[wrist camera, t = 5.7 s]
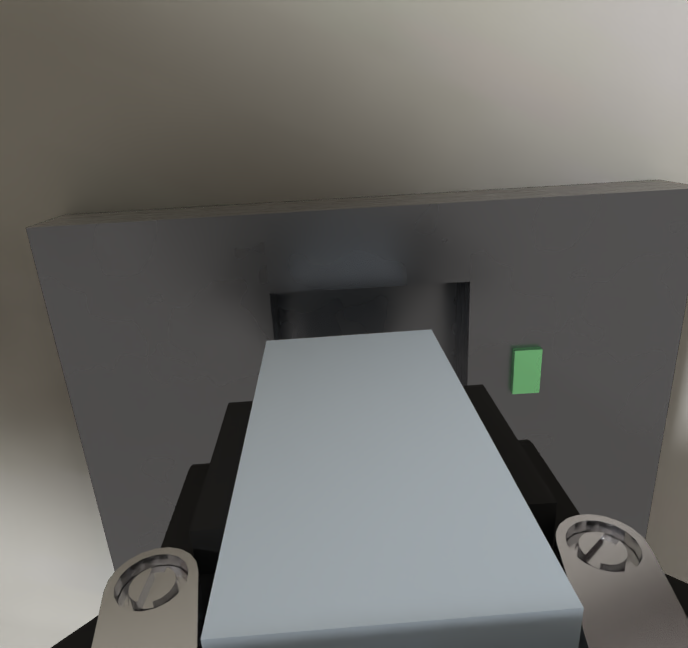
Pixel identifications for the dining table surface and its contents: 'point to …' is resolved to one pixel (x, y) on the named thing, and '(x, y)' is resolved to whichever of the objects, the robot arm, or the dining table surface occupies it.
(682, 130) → the dining table surface
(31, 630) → the dining table surface
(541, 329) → the switch board
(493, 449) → the plug
